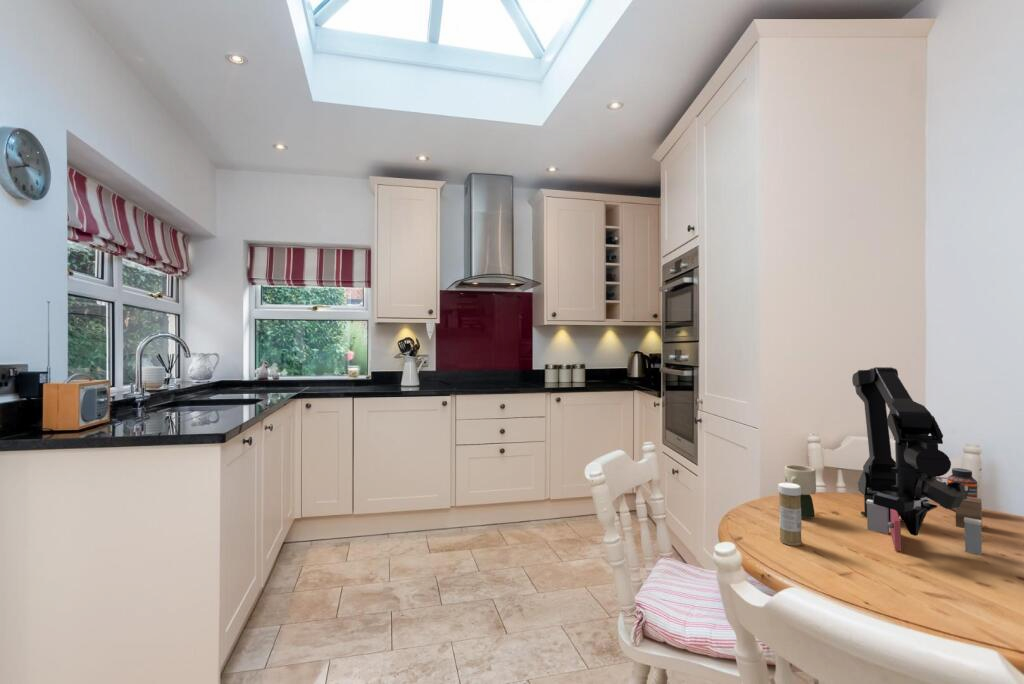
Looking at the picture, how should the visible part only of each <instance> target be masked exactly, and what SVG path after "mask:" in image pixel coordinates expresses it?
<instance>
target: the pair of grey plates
mask: <svg viewBox="0 0 1024 684" xmlns="http://www.w3.org/2000/svg"><path fill="white" fill-rule="evenodd" d="M866 503H867V517H866V520H867V521H866V522H867V525H866V526H867V530H869V531H872V532H877V533H882V534H885V535H889V533H890V528H888V522H889V508H886V507H882V506H879V505H875V504H873V500H870V499H867V501H866ZM890 522H891V514H890ZM964 522H965V528H964V548H965V549H964V550H965V553H966V552H967V553H970V554H974V555H979V556H982V553H983V547H982V544H983V543H982V531H981V524H982V525H983V519H982V520H978V519H972V518H967V517H964Z"/></svg>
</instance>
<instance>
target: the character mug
mask: <svg viewBox="0 0 1024 684" xmlns="http://www.w3.org/2000/svg"><path fill="white" fill-rule="evenodd" d="M816 471H817V470H816V469H815V468H813V467H811V466H807V465H801V464H788V465H787V464H786V465H785V466H784V478H785V482H784V483H793V484H797V485H799V486H800V487H801V497H800V502H801V518H808V519H809V518H810V519H811V518H812V519H813V518H815V517H816V516H815V515H816V514H815V507H814V501H813V498H812V495H815V494H816V492H817V477H816V476H817V473H816Z"/></svg>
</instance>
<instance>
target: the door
mask: <svg viewBox="0 0 1024 684" xmlns="http://www.w3.org/2000/svg"><path fill="white" fill-rule="evenodd" d="M890 514H891V522H888V528H889V529H890V535H891V539H892V543H893V548H894V550H895V551H897V552H902V541H901V540H902V538H901V536H902V535H901V534H902V533H901V523H900V520H901V518H900V516H898V513H897V511H896V510H893V509H890Z"/></svg>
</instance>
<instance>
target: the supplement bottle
mask: <svg viewBox="0 0 1024 684" xmlns="http://www.w3.org/2000/svg"><path fill="white" fill-rule="evenodd" d="M951 468H952V469H951V475H948V477H947V482H946V484H949V483H951V482H955V481H958V482H960V483H962V484H964V486H965V492H966V493H967V494H966V496H968V497H974V498H978V481H977V480H976V479H975V478H974V477H973V471H972V470H970V469H967V468H961V467H959V468H958V467H951ZM950 510H952V511H954V512H956V507H955V508H953V509H950Z"/></svg>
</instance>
